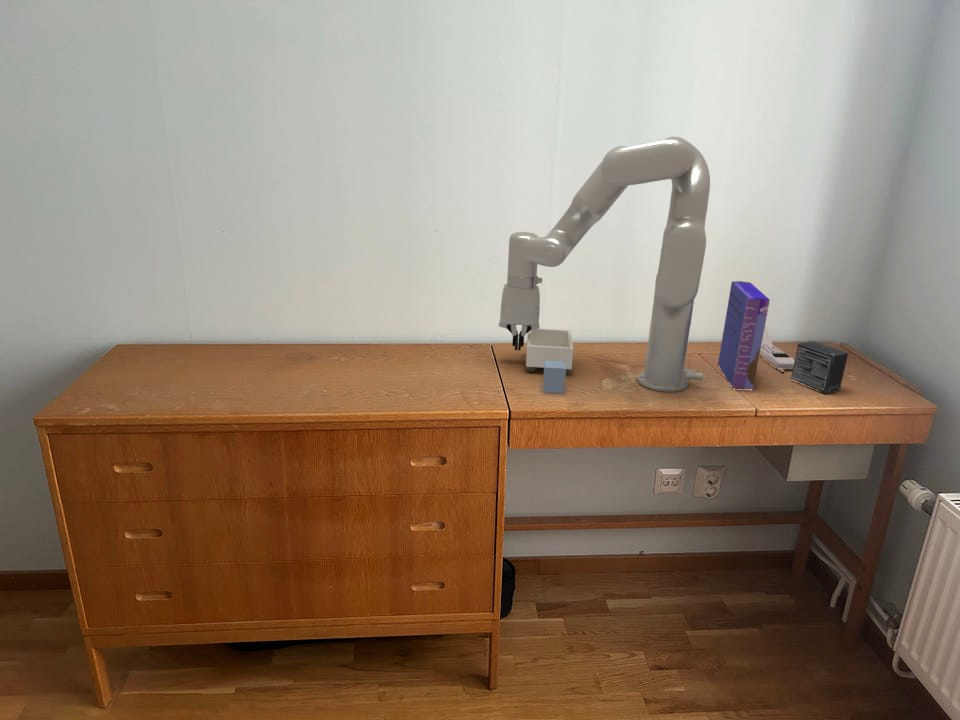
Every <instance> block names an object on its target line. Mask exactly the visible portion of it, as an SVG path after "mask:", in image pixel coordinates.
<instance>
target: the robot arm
mask: <svg viewBox="0 0 960 720" xmlns="http://www.w3.org/2000/svg"><path fill="white" fill-rule="evenodd" d="M710 174H711V173H710V169H709V167H708V163H707V161H706V159H705V157H704V155H703V154H702V153H701V151H700V150H699V149H698V148H697V147H696V146H695V145H694V144H692V143H691V142H689V141H688V140H686V139H684V138H683V137H680V136H669V137H667V138H665V139H662V140H657V141H653V142H647V143H642V144H635V145H628V146H627V145H619V146H616V147H613V148H612V149H611V150H608V152H607V153H606V154H605V155H604V157H603V158H602V161H601V162H600V163H599V165H598V166H597V167H596V168H595V170H594V171H593V172H592V173H591V175H590V176H589V177H588V178H587V179H586V181H585V182H584V183H583V185H582V186H581V187H580V189H579V190H578V191H577V192H576V193H575V195H574V196H573V199H572V201H571V203H570V205H569V207H568V208H567V210H566V211H565V212H564V214H563V215H562V216H561V217H560V219H559V220H558V221H557V223H556V224H555V225H554V227H553V228H552V229H551V230H550V231H549V233H548V234H547V235H545V236H543V237H542V236H541V237H540V236H538V235H537V234H536V233H533V232H528V231H518V232H513V233H512V234H511V235H510V236H509V240H508V258H507V259H508V260H507V276H506V277H507V278H506V284H504V285H503V288H502V293H501V303H500V314H499V316H500V319H499V322H498V327H500V328H503V329H507V330H508V332H509V333H510V334H511V335H512V345H511V347H514V351H519V352H520V351H522V347H524V345H525V336H526V335H528V332H529V331H530V330H535V329H539V328H540V322H539V321H540V311H541V307H540V306H541V305H540V303H541V300H540V299H541V297H540V296H541V294H540V293H541V292H540V287H539V285H538V284H543V277H539V276H538V265H539V266H543V267H548V268H555V267H558V266H560V265H562V264H563V263H564V262H565V260H566V259H567V258H568V256H569V255H570V254H571V253H572V251H573V250H574V249H575V247H576V246H577V245H578V244H579V243H580V241H581V240H582V239H583V238H584V237H585V235H586V234H587V233H588V232H589V231H590V229H592V227H593V226H594V225H595V224H597V223H598V222H599V221H600V220H602V218H603V217H604V216H605V215H606V214H607V212H608V211H609V210H610V208H611V207H613V206H614V203H615V202H616V201H617V200H618V199H619V197H621V195H622V194H623V193H624V191H625V190H626V189H627V188H628V187H629V186H634V185H642V184H647V183H653V182H661V181H665V180H666V181H667V180H671V193H670V202H669V209H668V215H667V219H666V220H667V221H666V225H665V228H664V231H663V234H662V242H661V249H660V257H659V263H658V269H657V274H656V277H655V282H654V283H655V285H654V292H653V293H654V294H653V301H652V302H653V304H652V310H651V316H650V317H651V318H650V319H651V320H650V325H649V333H648V340H647V341H648V342H647V349H646V356H645V364H644V370H643V371H640V372H639V373H638V374H637V376H636V378H637V382H638V383H639V385H641V386H643V387H645V388H648V389H651V390H653V391H659V392H668V393H670V392H681V391H684V390H686V389H687V388H688V386H689V381H690V380H695V381H702V380H703V372H696V370H695V369H686V367H685V364H686V357H687V352H688V351H687V350H688V343H689V337H690V330H691V323H692V318H693V317H692V316H693V310H694V304H695V303H694V302H695V299H696V297H697V294H698V291H699V288H700V287H699V286H700V282H701V276H702V271H703V266H704V259H705V254H706V247H707V235H706V227H705V226H706V219H707V213H708V206H709V199H710V198H709V197H710V192H711V191H710V190H711V175H710ZM517 326H521V328H520V331H519V332H518V329H517ZM540 329H541V328H540Z"/></svg>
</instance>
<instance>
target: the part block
mask: <svg viewBox="0 0 960 720" xmlns="http://www.w3.org/2000/svg"><path fill="white" fill-rule="evenodd" d="M566 375H567V374H566V363H565V361H549V360H545V365H544V369H543V378H542V379H543V381H542V392H543V393H544V394H545V393H546V394H561V395H565V386H566Z"/></svg>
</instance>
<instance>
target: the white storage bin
mask: <svg viewBox="0 0 960 720" xmlns="http://www.w3.org/2000/svg"><path fill="white" fill-rule="evenodd" d="M525 355H526V359H525V360H526V361H525V366H526V368H527V371H529V372H531V373H533V372H535V371H537V368H542V369H543V368H544V365H545V360H549V361H565V363H566V375H567V374H569V373H570V371H571V370H572V369H573V358H574V357H573V356H574V344H573V338H572V331H571V330H570V329H555V328H539V329H535V330H530V331H529V332H528V333H527V336H526V354H525Z"/></svg>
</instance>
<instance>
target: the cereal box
mask: <svg viewBox="0 0 960 720" xmlns="http://www.w3.org/2000/svg"><path fill="white" fill-rule="evenodd" d="M770 302H771V299H770V298H769V297H767V295H765V294H764V293H763V292H762V291H761V290H760V289H758V288H757V287H756V286H755V285H754V284H753V283H752V282H750V281H742V280H737V281H731V284H730V291H729V297H728V301H727V308H726V314H725V320H724V326H723V332H722V338H721V343H720V344H721V345H720V350H719V355H718V363H717V364H718V365H719V366H720V368H721V369H722V371H723V373H724V374H725V376H726V378H727V379H728V381H729V382H730V383H731V385H732V387H733V388H735V389H753V390H754V386H755V382H756V381H755V380H756V374H757V370H758V364H759V360H760V356H759V355H760V349H761V344H762V339H763V333H764V328H765V327H766V323H767V317H768V312H769V306H770ZM718 365H717V366H718ZM723 373H722V374H723ZM726 378H725V379H726ZM728 381H727V382H728ZM732 387H731V388H732Z"/></svg>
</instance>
